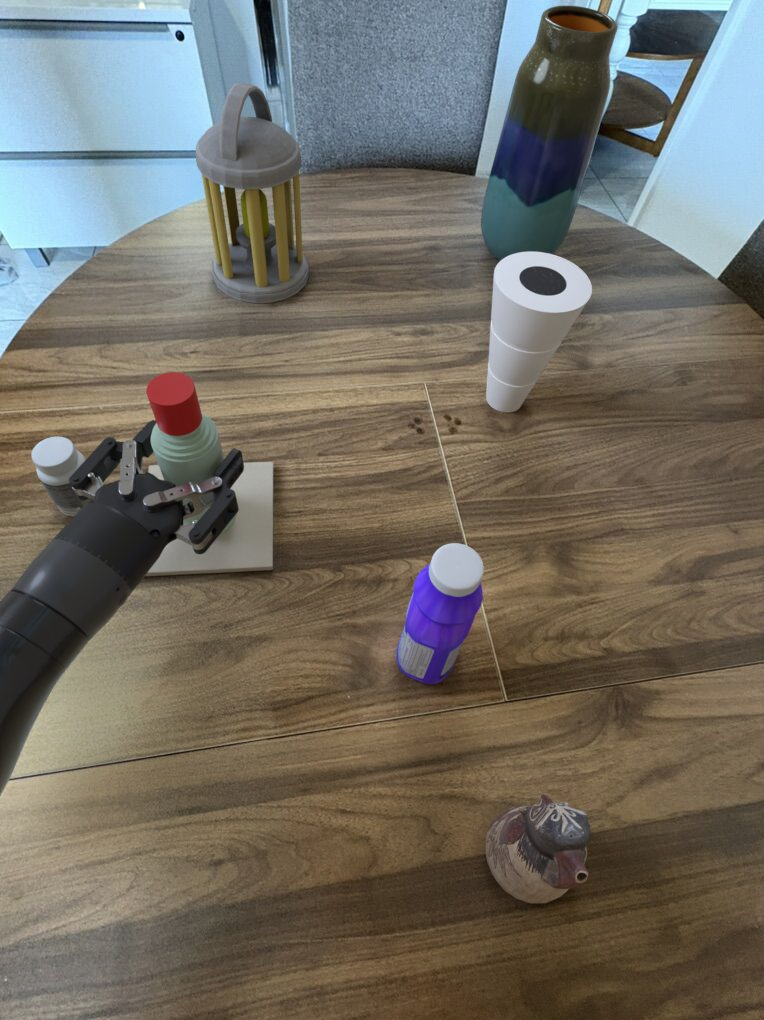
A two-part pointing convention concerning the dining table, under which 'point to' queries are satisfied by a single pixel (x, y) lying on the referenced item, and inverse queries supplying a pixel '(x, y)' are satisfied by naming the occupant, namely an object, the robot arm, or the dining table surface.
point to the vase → (548, 133)
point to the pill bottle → (59, 472)
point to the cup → (529, 321)
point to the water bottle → (189, 457)
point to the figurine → (539, 850)
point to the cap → (174, 403)
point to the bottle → (440, 613)
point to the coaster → (231, 531)
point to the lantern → (253, 201)
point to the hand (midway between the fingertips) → (201, 439)
